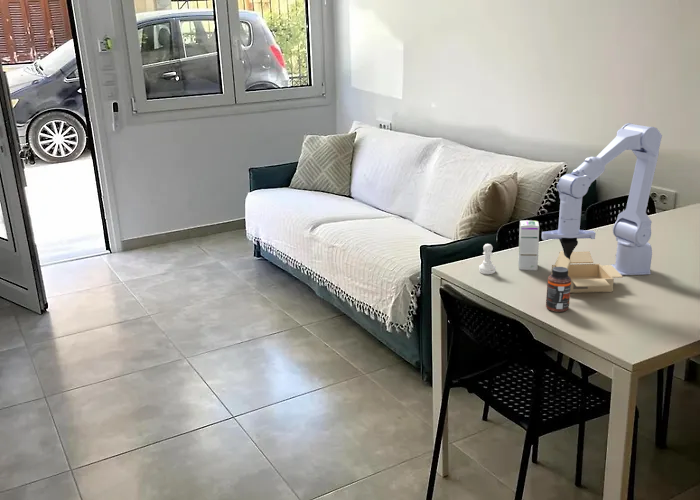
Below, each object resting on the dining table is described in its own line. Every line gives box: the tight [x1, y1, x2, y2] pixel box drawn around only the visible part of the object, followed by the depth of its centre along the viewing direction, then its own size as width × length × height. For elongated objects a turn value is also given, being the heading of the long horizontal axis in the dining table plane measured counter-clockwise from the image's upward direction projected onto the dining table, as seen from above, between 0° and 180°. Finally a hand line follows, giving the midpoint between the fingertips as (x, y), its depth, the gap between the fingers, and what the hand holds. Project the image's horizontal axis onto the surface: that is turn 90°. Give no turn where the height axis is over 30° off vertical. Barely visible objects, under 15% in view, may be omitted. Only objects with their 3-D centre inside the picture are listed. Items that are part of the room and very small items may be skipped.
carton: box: [550, 263, 624, 294], centre depth 188 cm, size 17×16×4 cm
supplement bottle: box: [545, 267, 571, 313], centre depth 174 cm, size 6×6×11 cm
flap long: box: [554, 250, 572, 269], centre depth 188 cm, size 1×9×4 cm, turn 179°
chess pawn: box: [478, 243, 496, 275], centre depth 201 cm, size 5×5×9 cm
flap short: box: [558, 251, 594, 264], centre depth 196 cm, size 9×1×4 cm
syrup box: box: [517, 219, 540, 271], centre depth 203 cm, size 6×6×14 cm
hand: (566, 262), depth 188 cm, fingers closed, pressing on flap long
